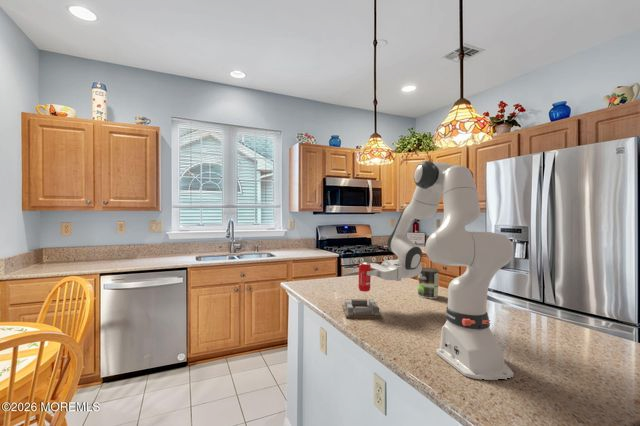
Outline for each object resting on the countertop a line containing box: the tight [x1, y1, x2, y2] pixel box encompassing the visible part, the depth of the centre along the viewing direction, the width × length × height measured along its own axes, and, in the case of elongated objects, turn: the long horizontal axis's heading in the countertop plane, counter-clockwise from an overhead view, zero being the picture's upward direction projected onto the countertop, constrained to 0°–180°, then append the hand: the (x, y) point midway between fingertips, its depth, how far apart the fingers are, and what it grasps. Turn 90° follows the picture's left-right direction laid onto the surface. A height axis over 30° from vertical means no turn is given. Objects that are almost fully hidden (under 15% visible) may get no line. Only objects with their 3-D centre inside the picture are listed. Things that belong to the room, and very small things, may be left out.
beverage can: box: [358, 261, 372, 293], centre depth 138 cm, size 5×5×12 cm
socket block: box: [341, 298, 383, 320], centre depth 137 cm, size 15×15×4 cm
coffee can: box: [417, 267, 439, 300], centre depth 165 cm, size 10×10×14 cm
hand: (363, 272), depth 137 cm, fingers closed on beverage can, 4 cm apart
